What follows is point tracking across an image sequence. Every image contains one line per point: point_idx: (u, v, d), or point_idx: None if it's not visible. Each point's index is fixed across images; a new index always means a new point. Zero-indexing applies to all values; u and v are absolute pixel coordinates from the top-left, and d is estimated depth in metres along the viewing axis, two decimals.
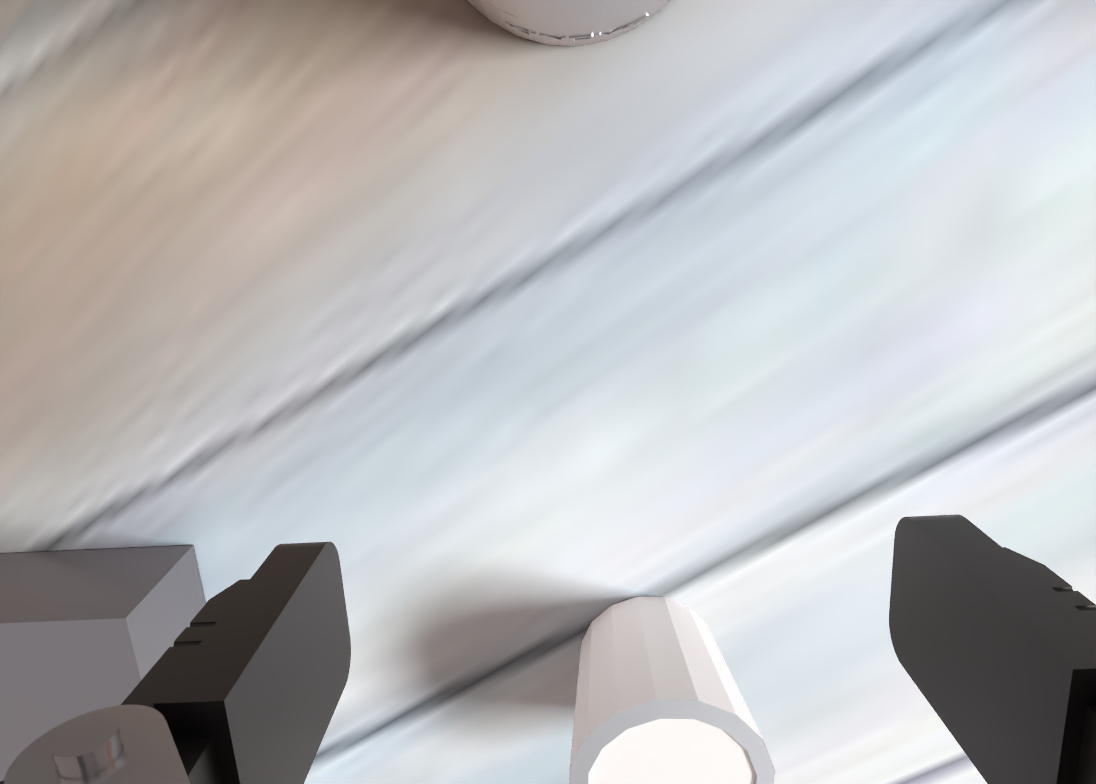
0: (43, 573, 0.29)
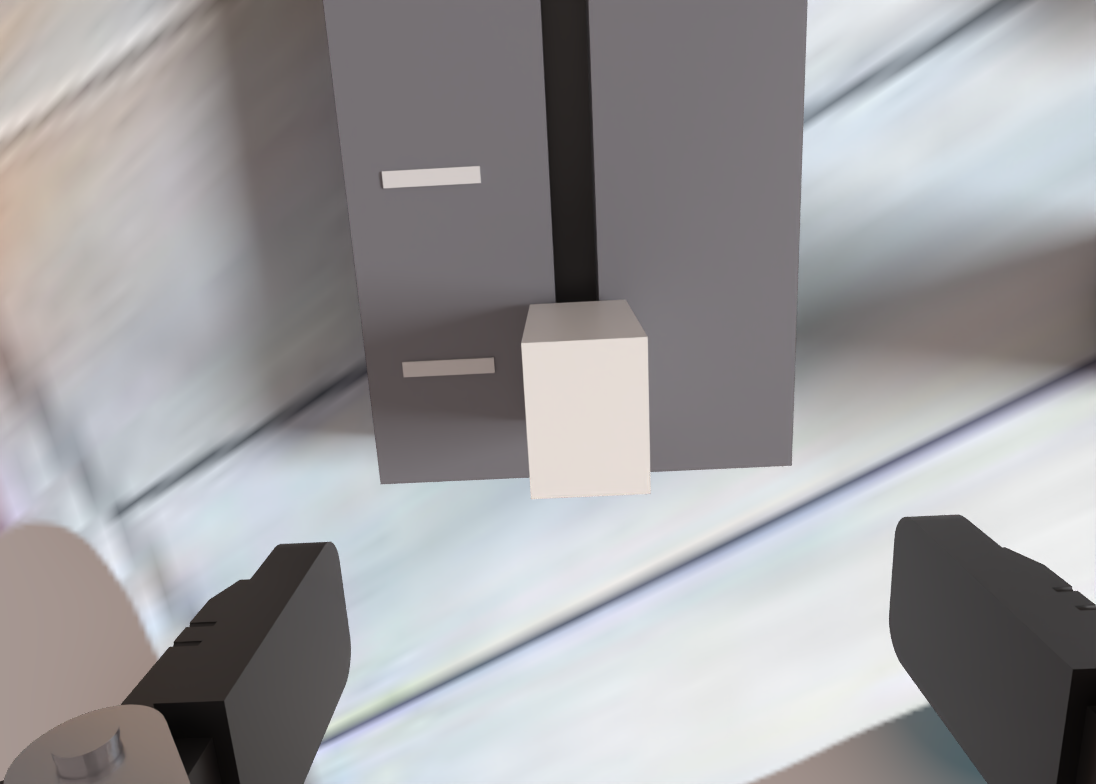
0: None
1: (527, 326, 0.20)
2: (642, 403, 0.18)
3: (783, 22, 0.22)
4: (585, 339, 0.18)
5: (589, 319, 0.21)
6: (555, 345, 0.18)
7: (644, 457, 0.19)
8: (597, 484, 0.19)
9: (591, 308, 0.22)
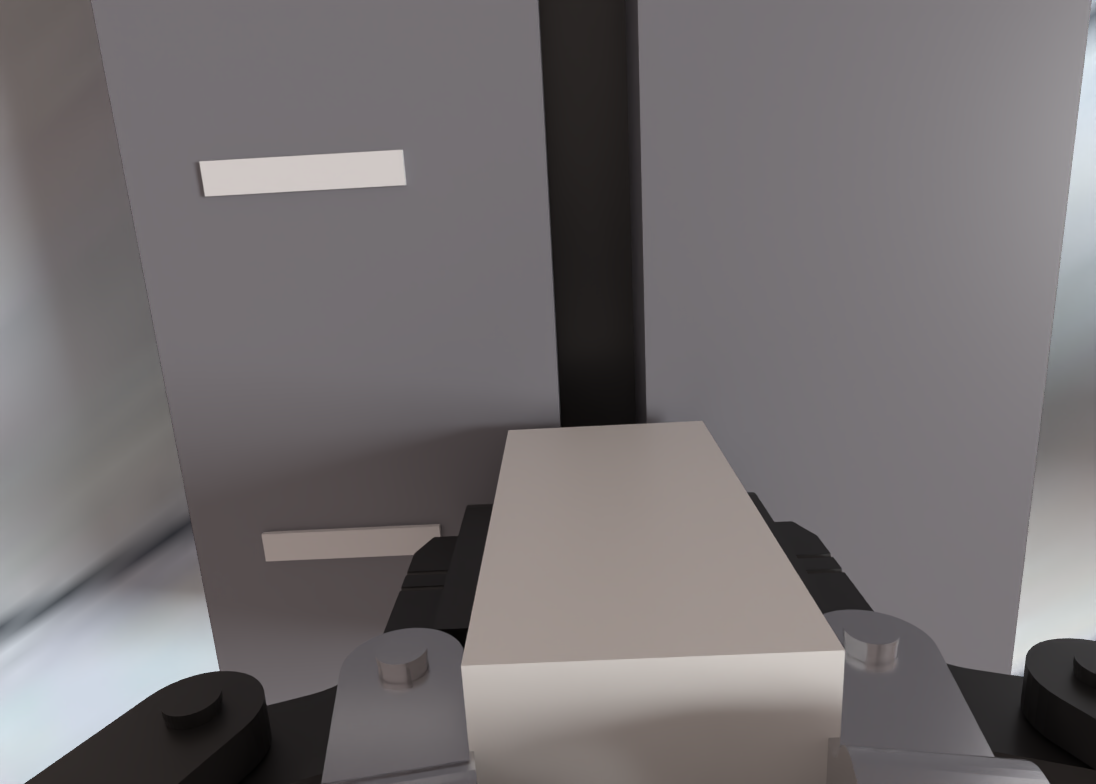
0: None
1: (492, 540, 0.08)
2: None
3: None
4: (654, 651, 0.06)
5: (643, 511, 0.09)
6: (565, 673, 0.06)
7: None
8: None
9: (638, 454, 0.10)
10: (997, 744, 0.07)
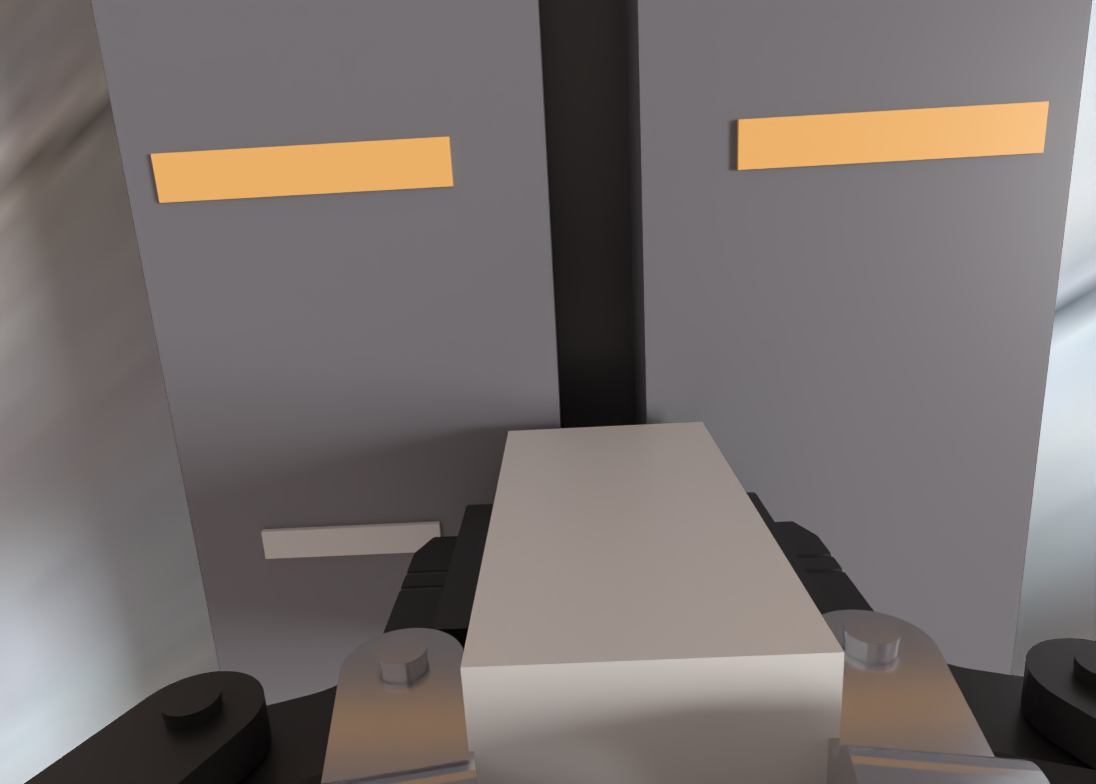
0: None
1: (492, 541, 0.08)
2: None
3: (1013, 282, 0.12)
4: (653, 653, 0.06)
5: (643, 512, 0.09)
6: (565, 674, 0.06)
7: None
8: None
9: (638, 455, 0.10)
10: (997, 744, 0.07)
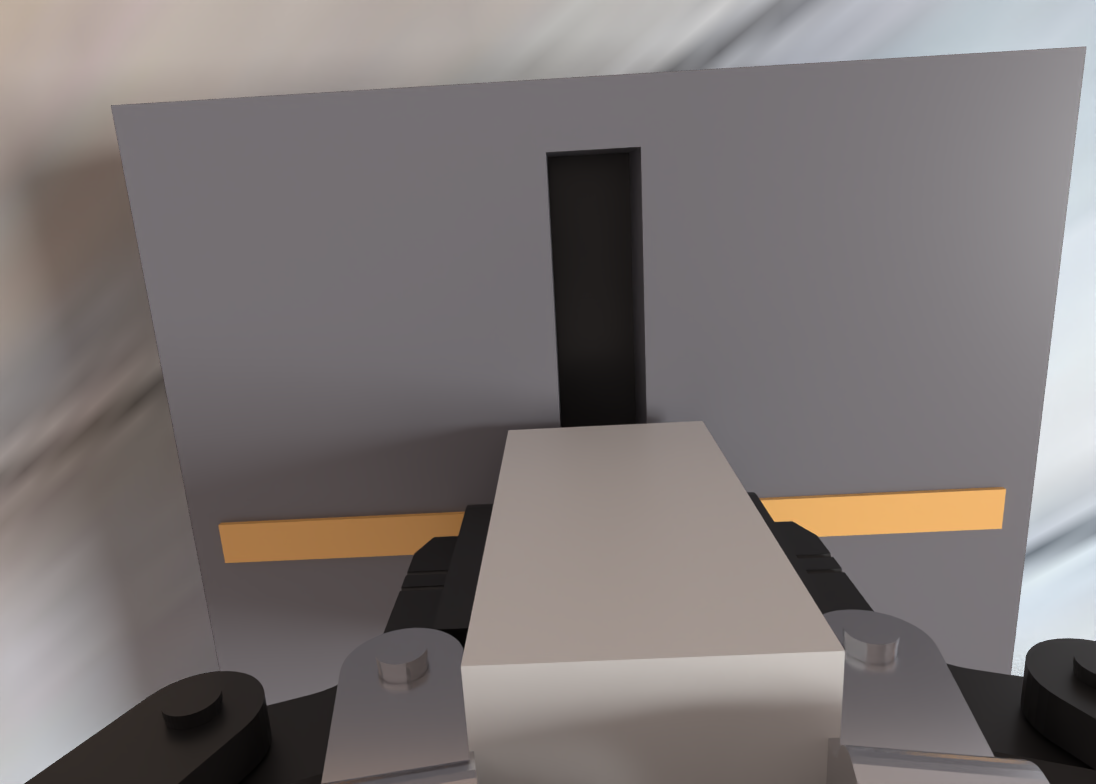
0: None
1: (492, 540, 0.08)
2: None
3: (977, 626, 0.13)
4: (654, 652, 0.06)
5: (643, 511, 0.09)
6: (567, 673, 0.06)
7: None
8: None
9: (638, 455, 0.10)
10: (997, 744, 0.07)
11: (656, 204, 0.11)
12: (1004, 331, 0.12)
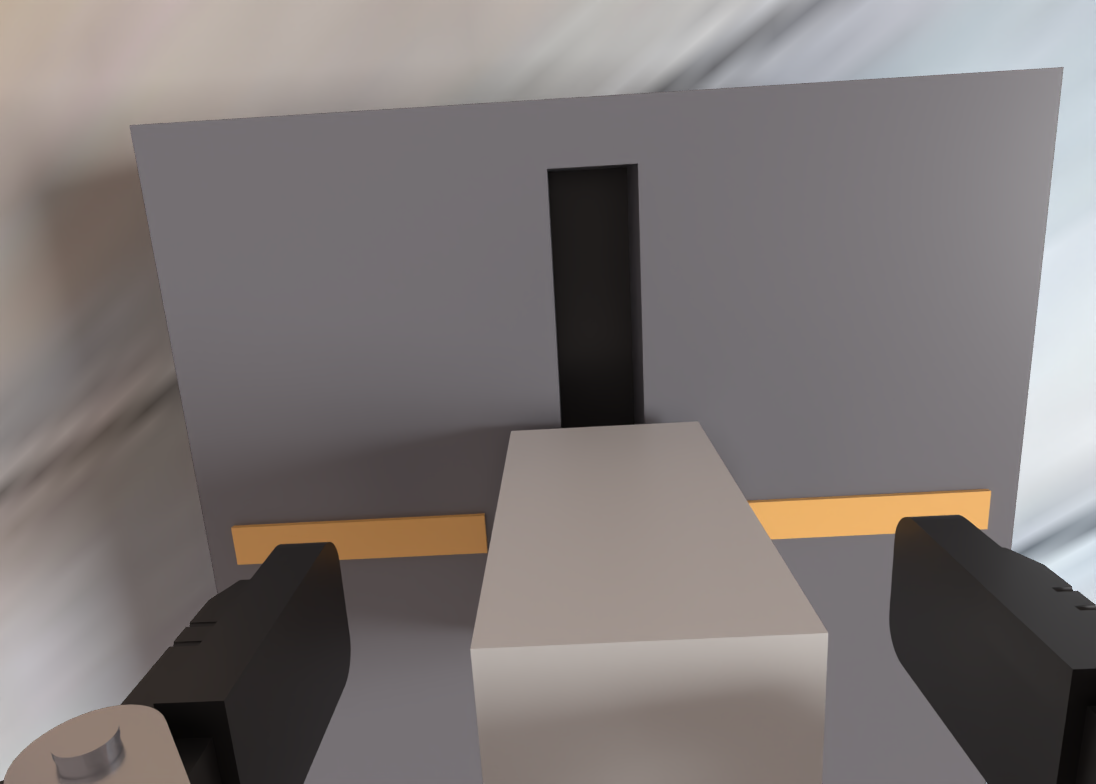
0: None
1: (497, 534, 0.09)
2: None
3: None
4: (651, 635, 0.06)
5: (641, 507, 0.09)
6: (568, 655, 0.06)
7: None
8: None
9: (636, 454, 0.11)
10: None
11: (653, 218, 0.12)
12: (988, 339, 0.12)
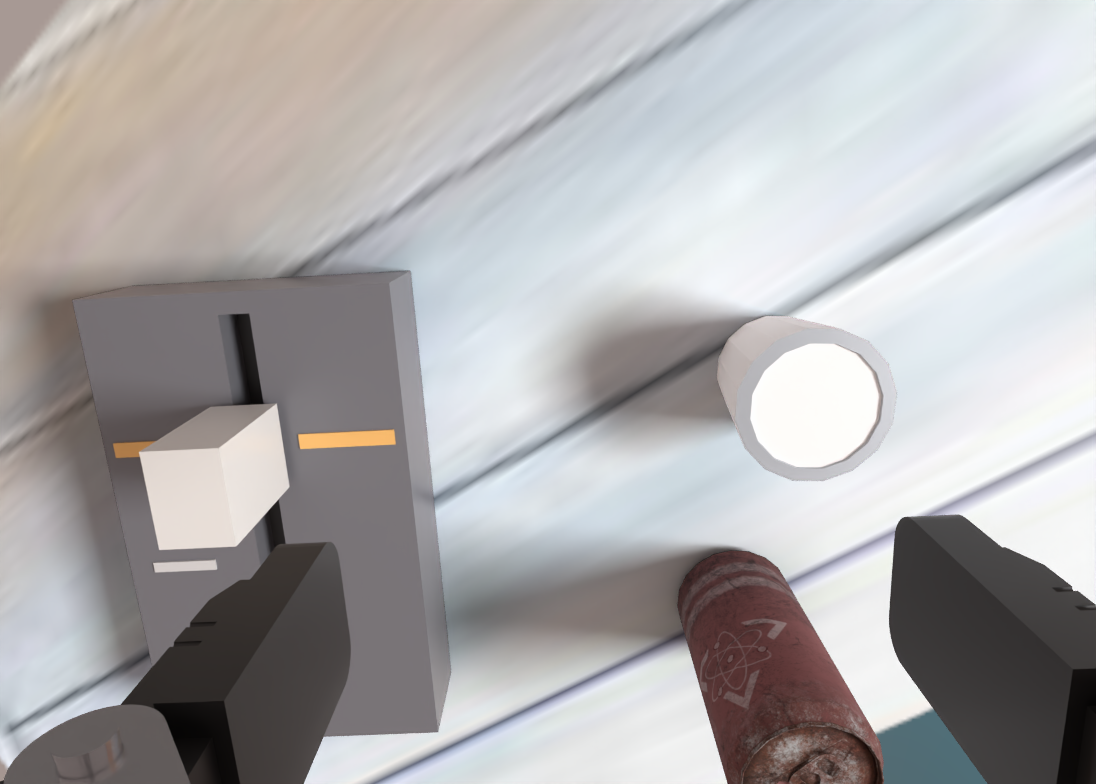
0: (300, 280, 0.36)
1: (169, 433, 0.30)
2: (221, 489, 0.28)
3: (396, 482, 0.35)
4: (180, 449, 0.28)
5: (217, 427, 0.31)
6: (161, 453, 0.28)
7: (228, 523, 0.29)
8: (201, 540, 0.29)
9: (239, 413, 0.33)
10: None
11: (257, 331, 0.34)
12: (382, 374, 0.34)
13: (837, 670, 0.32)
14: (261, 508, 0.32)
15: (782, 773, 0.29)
